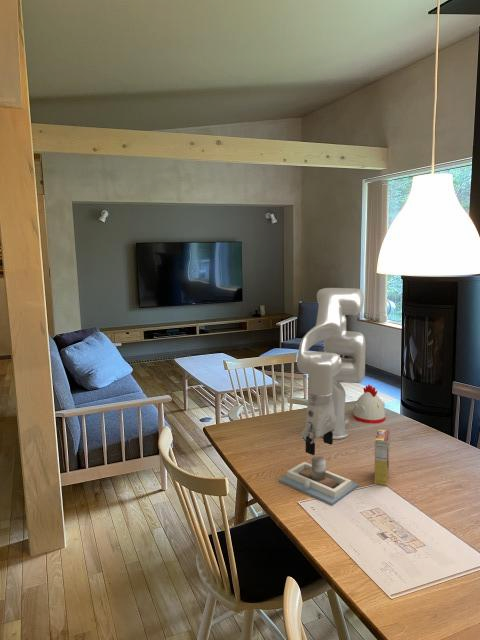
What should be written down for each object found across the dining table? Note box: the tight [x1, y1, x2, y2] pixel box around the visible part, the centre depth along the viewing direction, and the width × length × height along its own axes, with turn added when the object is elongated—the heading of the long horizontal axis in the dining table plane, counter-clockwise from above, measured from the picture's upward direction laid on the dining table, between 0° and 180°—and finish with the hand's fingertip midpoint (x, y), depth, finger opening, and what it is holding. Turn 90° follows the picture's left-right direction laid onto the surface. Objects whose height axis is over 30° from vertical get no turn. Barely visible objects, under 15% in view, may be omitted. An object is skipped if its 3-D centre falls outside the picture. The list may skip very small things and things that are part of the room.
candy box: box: [373, 429, 391, 487], centre depth 149 cm, size 9×4×15 cm, turn 158°
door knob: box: [299, 456, 339, 489], centre depth 147 cm, size 13×4×8 cm, turn 42°
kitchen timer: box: [352, 384, 386, 425], centre depth 202 cm, size 14×14×15 cm
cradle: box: [278, 461, 360, 506], centre depth 147 cm, size 15×20×3 cm
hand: (319, 448), depth 146 cm, fingers open, 9 cm apart
